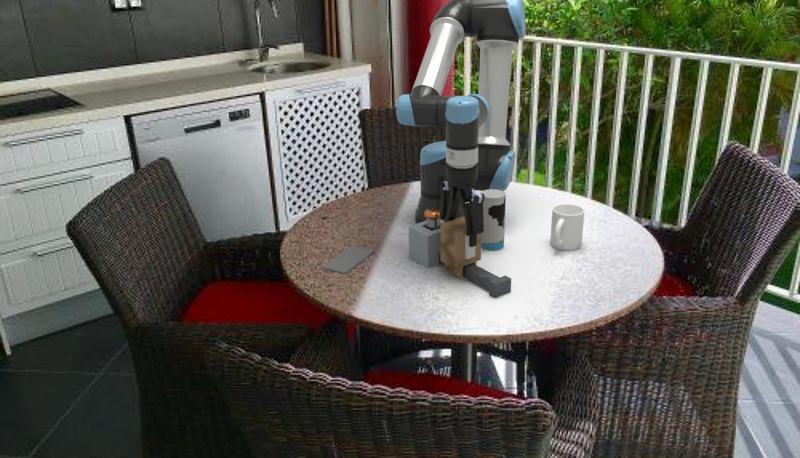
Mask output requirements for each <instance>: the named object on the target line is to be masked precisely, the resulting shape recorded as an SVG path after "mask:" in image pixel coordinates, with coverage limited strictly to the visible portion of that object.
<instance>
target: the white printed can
mask: <svg viewBox="0 0 800 458" xmlns="http://www.w3.org/2000/svg"><path fill="white" fill-rule="evenodd" d="M479 194H484V195H485V198H484V202H483V219H484V232H483V233H481V250H484V251H489V252H491V251H499V250H502V249H503V248H504V247H505V228H506V227H505V224H506V204H507V203H506V198H507V197H506V196H507V194H506V192H505V191H501V190H496V189H489V190H484V191H481V192H480V193H479Z"/></svg>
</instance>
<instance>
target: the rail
mask: <svg viewBox="0 0 800 458" xmlns="http://www.w3.org/2000/svg"><path fill="white" fill-rule="evenodd" d="M438 265H439V266H440V267H443V268H444V269H445V263H444V262H442V261H441V253H440V254H439V264H438ZM462 278H463V279H465V280H467V281H468V282H471V283H472V284H474V285H476V286H479V287H480V288H481V289H483V290H485V291H487V292H488V293H489V296H491V297H493V298H495V299H496V298H499V297H501V296H503V295H505V294H508V293H511V292H512V278H511V277H509V276H507V275H506V274H505V275H503V276H498V275H496V274H495V273H492V272H491V271H488V270H486V269H484V268H482V267H481V266H479V265H475V264H473V263H471V264H468V265H466V266H463V277H462Z"/></svg>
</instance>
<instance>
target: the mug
mask: <svg viewBox="0 0 800 458" xmlns="http://www.w3.org/2000/svg"><path fill="white" fill-rule="evenodd" d="M584 220H585V208H584V207H582V206H581V205H577V204H571V203H562V204H561V203H560V204H556V205H554V206H553V207H552V212H551V227H550V228H551V229H550V244H551V246H552V247H553V248H555V249H558V250H561V251H576V250H577V249H580V247H581V246H582V244H583V243H582V242H583V231H584V224H585V223H584Z"/></svg>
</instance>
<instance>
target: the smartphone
mask: <svg viewBox="0 0 800 458" xmlns="http://www.w3.org/2000/svg"><path fill="white" fill-rule="evenodd" d="M373 254H375V250H374V249H373V248H368V247H363V246H359V245H354V244H353V245H350V246H349V247H348V248H346V249H345V250H344V251H342V252H340V253H339V254H337V255H336V256H335V257H334V258H332V259H331V260H330V261H329V260H328V262H326V263H325V264H324V265H322V267H321V268H322V270H325V271H329V272H334V273H337V274H341V275H346V274H349V272H351V271H352V270H354V269H355V268H356V267H357V266H359V265H361V263H363V262H364V261H366V260H367V259H368V258H369V257H371V256H372V255H373Z"/></svg>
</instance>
